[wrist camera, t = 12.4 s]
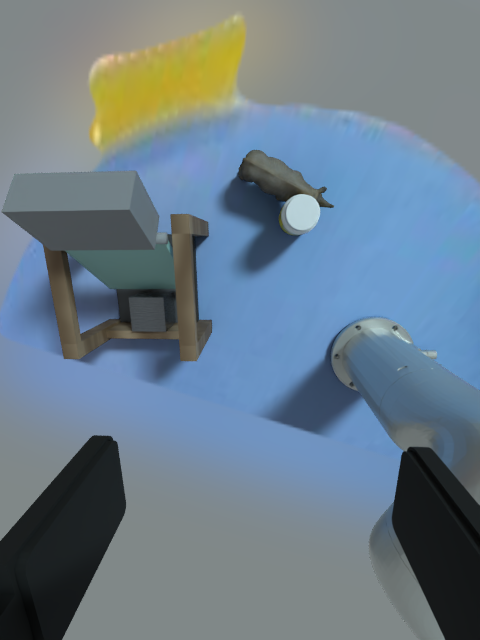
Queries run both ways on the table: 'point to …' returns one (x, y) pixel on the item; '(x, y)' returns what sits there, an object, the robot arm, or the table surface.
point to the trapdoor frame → (185, 294)
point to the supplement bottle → (299, 214)
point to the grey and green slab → (96, 224)
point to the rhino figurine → (277, 178)
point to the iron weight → (152, 311)
